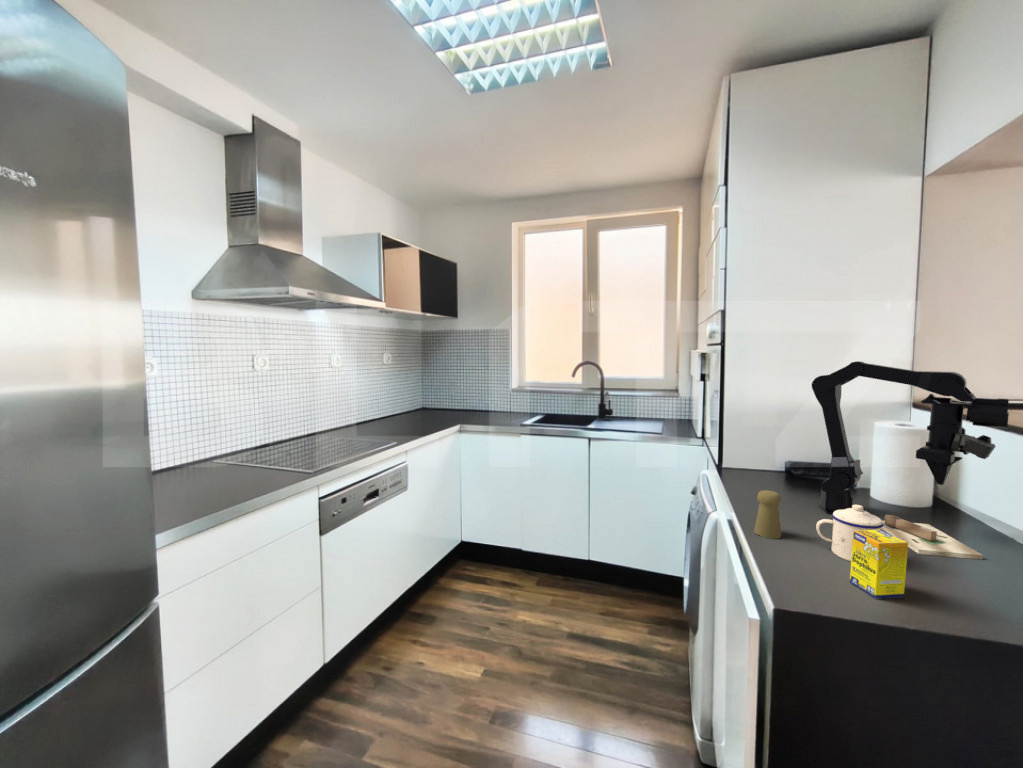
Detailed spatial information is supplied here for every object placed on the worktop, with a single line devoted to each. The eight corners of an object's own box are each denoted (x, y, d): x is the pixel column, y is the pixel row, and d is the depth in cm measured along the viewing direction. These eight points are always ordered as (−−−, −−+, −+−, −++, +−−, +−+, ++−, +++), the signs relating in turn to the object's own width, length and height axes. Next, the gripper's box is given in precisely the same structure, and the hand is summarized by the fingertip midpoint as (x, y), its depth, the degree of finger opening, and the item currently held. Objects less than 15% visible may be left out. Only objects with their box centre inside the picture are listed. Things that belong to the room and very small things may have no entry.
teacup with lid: (877, 552, 102) (880, 503, 101) (884, 569, 94) (888, 516, 93) (814, 541, 108) (816, 494, 107) (816, 555, 100) (818, 505, 99)
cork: (785, 540, 109) (787, 496, 108) (758, 538, 110) (760, 494, 109) (776, 530, 114) (778, 488, 114) (750, 528, 116) (752, 487, 115)
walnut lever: (881, 523, 116) (881, 514, 115) (891, 522, 116) (892, 514, 116) (927, 541, 105) (928, 532, 104) (938, 540, 105) (939, 531, 105)
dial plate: (918, 553, 101) (918, 549, 101) (874, 523, 119) (874, 519, 119) (982, 559, 98) (983, 554, 98) (927, 527, 116) (928, 523, 116)
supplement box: (848, 583, 89) (851, 530, 88) (876, 581, 89) (879, 529, 88) (875, 599, 83) (879, 543, 82) (905, 598, 83) (909, 541, 82)
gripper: (984, 432, 98) (977, 500, 99) (1001, 423, 108) (995, 486, 109) (917, 424, 107) (912, 487, 108) (939, 417, 117) (934, 475, 119)
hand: (940, 484), depth 111 cm, fingers closed
